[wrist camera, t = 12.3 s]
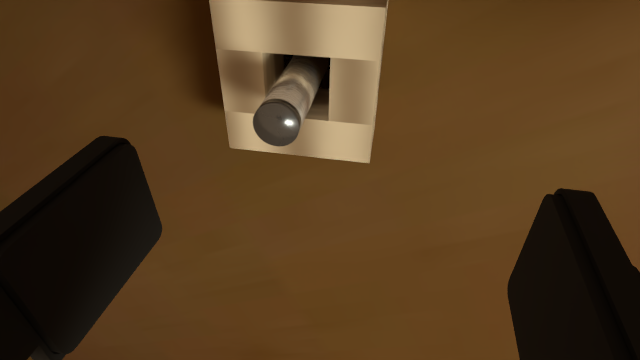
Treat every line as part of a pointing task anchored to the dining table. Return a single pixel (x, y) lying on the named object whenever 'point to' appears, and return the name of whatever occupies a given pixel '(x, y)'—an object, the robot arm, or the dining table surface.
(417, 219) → the dining table surface
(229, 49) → the square wooden hole block
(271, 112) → the peg
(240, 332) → the dining table surface
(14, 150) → the dining table surface
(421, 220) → the dining table surface
